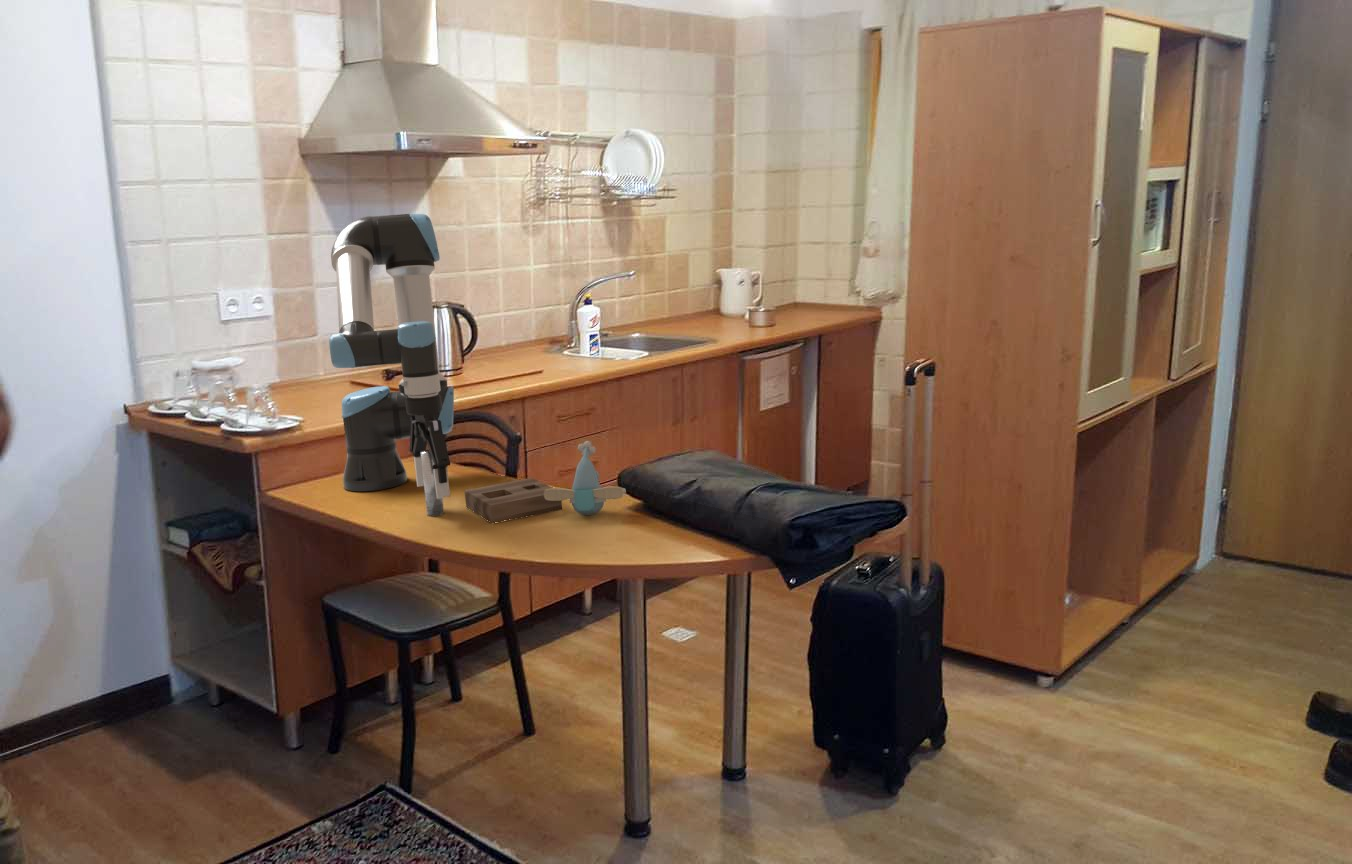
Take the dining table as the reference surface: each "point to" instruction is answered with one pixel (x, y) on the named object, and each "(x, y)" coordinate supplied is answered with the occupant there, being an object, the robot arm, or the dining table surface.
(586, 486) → the toy figure
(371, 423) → the robot arm
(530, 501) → the block
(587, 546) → the dining table surface
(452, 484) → the dining table surface
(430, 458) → the pin
